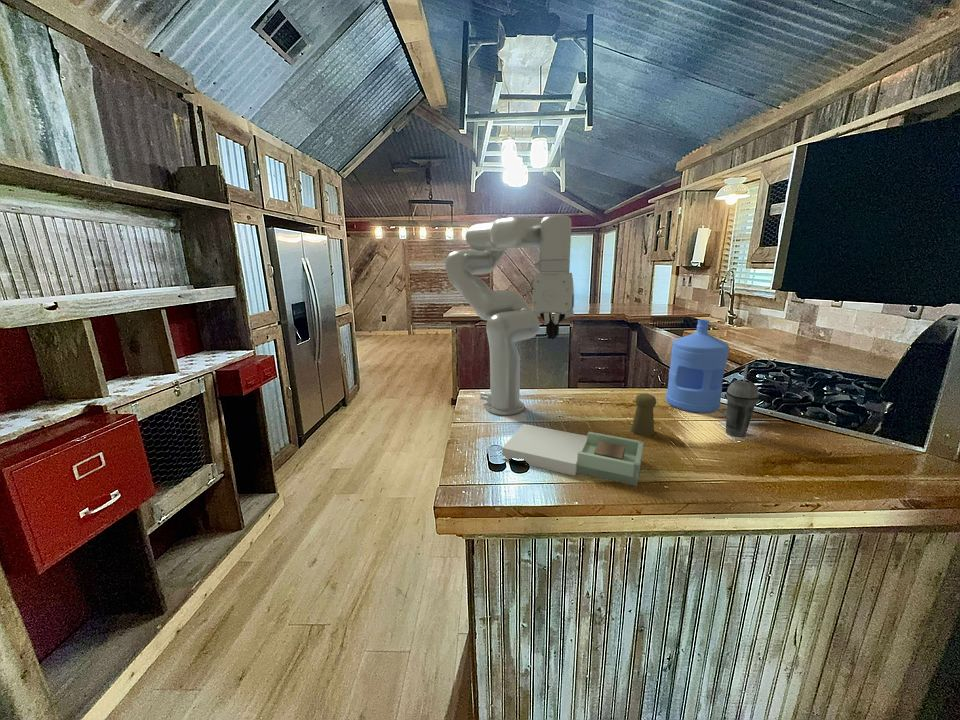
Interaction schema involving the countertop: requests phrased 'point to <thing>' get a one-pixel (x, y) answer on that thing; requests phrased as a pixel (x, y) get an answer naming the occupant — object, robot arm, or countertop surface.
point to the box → (611, 459)
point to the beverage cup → (740, 406)
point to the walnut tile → (610, 450)
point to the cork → (644, 415)
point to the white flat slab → (546, 448)
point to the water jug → (697, 371)
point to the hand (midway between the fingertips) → (552, 337)
